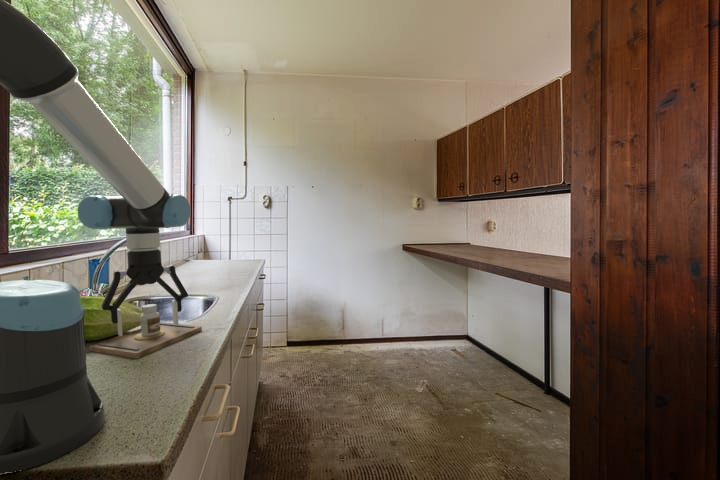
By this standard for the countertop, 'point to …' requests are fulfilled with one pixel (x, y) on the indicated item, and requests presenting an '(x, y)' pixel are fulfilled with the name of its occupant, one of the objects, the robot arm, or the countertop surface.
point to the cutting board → (144, 340)
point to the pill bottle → (150, 320)
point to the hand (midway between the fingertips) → (149, 329)
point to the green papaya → (107, 318)
